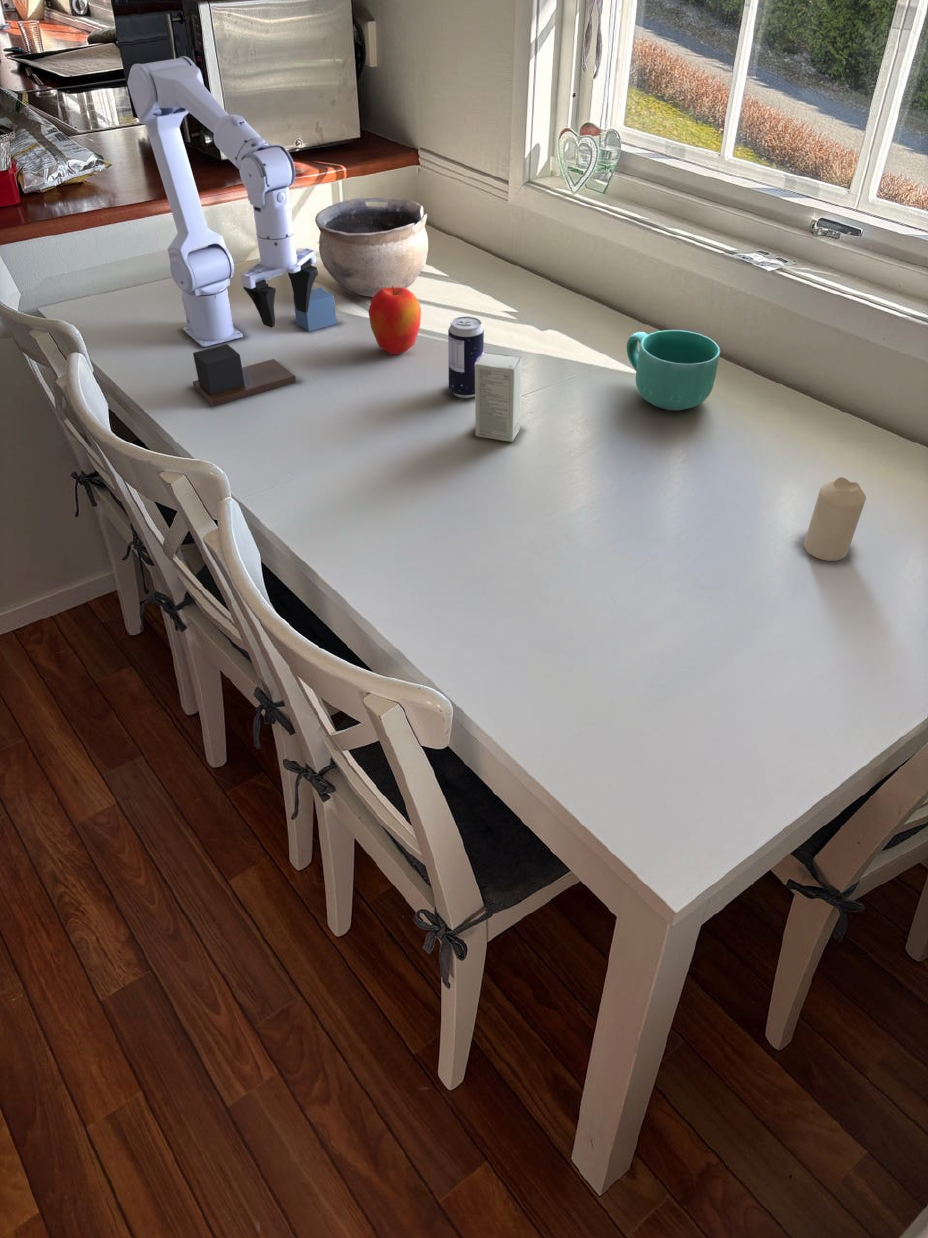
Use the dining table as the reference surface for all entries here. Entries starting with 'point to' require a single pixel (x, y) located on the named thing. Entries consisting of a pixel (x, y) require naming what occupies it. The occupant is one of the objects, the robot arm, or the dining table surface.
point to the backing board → (252, 382)
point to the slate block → (317, 311)
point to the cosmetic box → (497, 396)
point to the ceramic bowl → (373, 243)
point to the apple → (395, 319)
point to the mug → (673, 367)
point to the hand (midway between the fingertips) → (285, 318)
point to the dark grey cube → (219, 369)
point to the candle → (834, 519)
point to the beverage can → (464, 354)
